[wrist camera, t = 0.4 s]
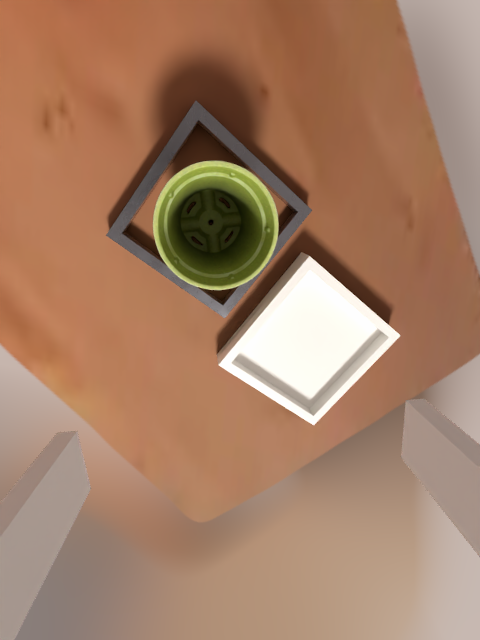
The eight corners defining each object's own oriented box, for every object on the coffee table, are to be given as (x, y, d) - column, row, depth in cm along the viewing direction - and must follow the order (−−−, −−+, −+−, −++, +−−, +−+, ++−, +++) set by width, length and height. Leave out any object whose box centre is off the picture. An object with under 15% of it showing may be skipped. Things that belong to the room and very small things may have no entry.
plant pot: (197, 146, 30) (199, 128, 22) (275, 210, 32) (303, 215, 24) (144, 232, 32) (128, 244, 24) (222, 284, 35) (231, 311, 27)
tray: (301, 251, 34) (309, 255, 32) (388, 327, 39) (400, 335, 37) (216, 354, 37) (218, 365, 35) (307, 412, 42) (313, 425, 40)
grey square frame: (195, 104, 28) (195, 100, 27) (307, 209, 33) (312, 210, 31) (109, 233, 31) (106, 235, 30) (223, 313, 36) (224, 318, 34)
